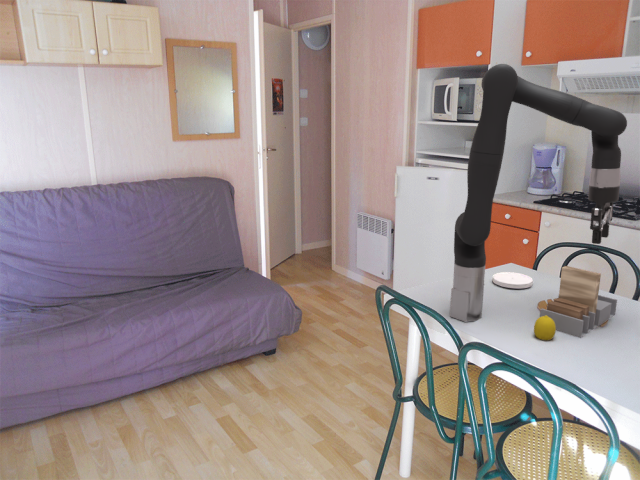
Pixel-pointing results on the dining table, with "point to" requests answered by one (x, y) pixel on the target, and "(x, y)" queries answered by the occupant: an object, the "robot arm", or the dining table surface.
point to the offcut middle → (574, 305)
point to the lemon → (544, 328)
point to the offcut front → (565, 310)
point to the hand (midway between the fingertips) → (600, 240)
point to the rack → (584, 326)
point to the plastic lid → (512, 280)
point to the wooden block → (580, 286)
